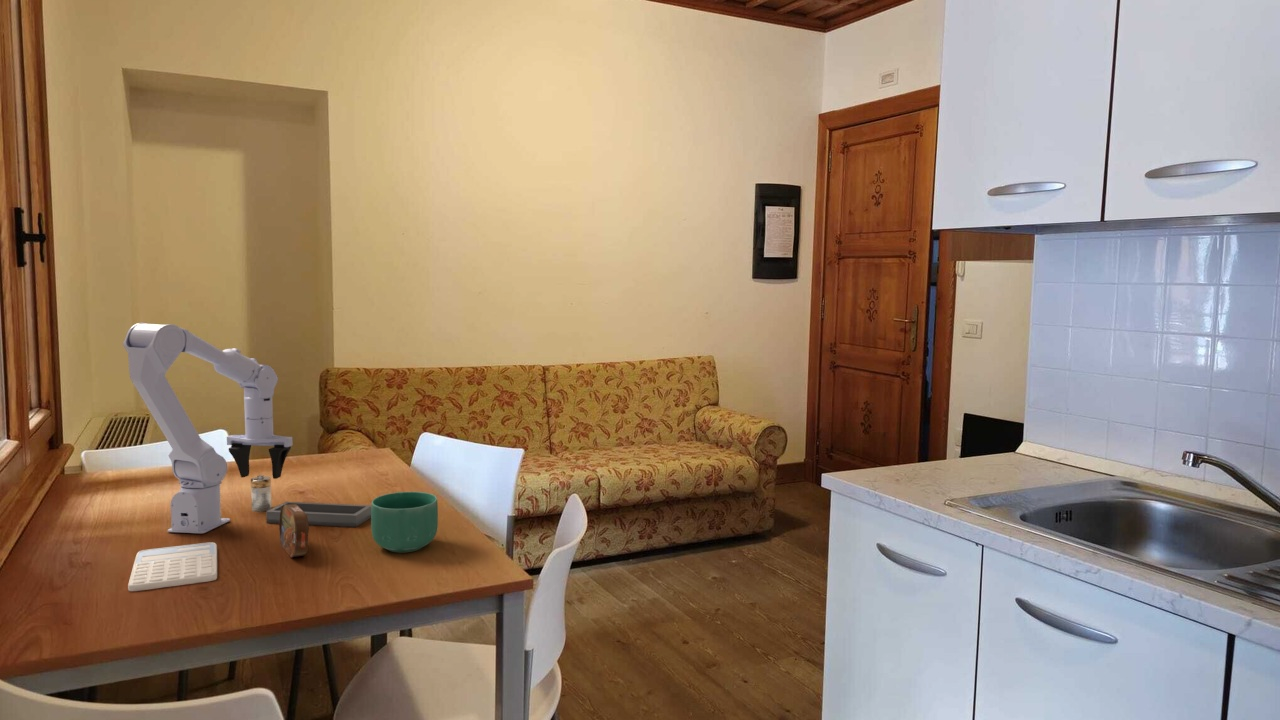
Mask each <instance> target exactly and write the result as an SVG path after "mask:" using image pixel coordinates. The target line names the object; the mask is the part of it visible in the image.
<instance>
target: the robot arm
mask: <svg viewBox="0 0 1280 720" xmlns="http://www.w3.org/2000/svg"><path fill="white" fill-rule="evenodd" d="M122 345H123V347H124V349H125V350H126V352H127V359H128V373H129V378H130V380H131V382H132V384H133V385H134V387H135V389H136V391H137V392H138V394H139V396H140V397H141V399H142V401H143V402H144V404H145V405H146V407H147V410H148V411H149V413H150V414H151V416H152V417H153V419H154V420H155V422H156V423H157V426H158V427H159V429H160V430H161V432H162V434H163V436H164V437H165V439H166V441H167V442H168V443H169V446H170V448H171V450H170V452H169V454H168V458H169V459H170V462H171V470H172V473H173V475H174V476H175V478H176V479H178V484H179V485H180V488H179V491H178V492H176V493H175V494H174V495H173V496H172V498H171V500H170V523H171V525H170V526H171V527H170V528H169V529H167V533H182V534H183V533H184V534H185V533H187V534H205V533H208V532H210V531H212V530H213V529H216V528H218V527H221V526H222V525H224V524H226V523H228V522H230V521H231V518H228V517H226V518H225V517H222V511H221V510H222V507H221V484H222V483H223V482H222V481H223V480H224V478H225V477H226V476H227V472H228V462H227V460H226V459H225V457H224V456H222V455H220V454H219V453H217V452H216V450H215V448H214V447H213V446H212V445H210V444H209V443H207V441H205V440H203V439H202V438H201V436H200V435H199V433H198V431H197V430H196V428H195V426H194V424H193V422H192V421H191V418H190V417H189V415H188V414H187V412H186V410H185V408H184V407H183V405H182V403H181V402H180V400H179V397H178V396H177V395H176V393H175V391H174V389H173V388H172V385H171V384H170V383H169V381H168V379H167V377H166V375H167V371H169V369H170V368H171V367H172V365H173V364H174V363H175V362H176V360H177V358H178V357H179V356H180V354H181V353H186V354H189V355H191V356H193V357H196V358H198V359H200V360H203V361H205V362H208V363H210V364H212V365H213V370H214V371H215V372H216V373H217V374H220V375H221V376H224V377H226V378H228V379H230V380H232V381H233V382H236V383H237V384H238V386H239V387H240V388H242V389H243V405H244V431H245V432H244V434H231V435H228V436H226V445H227V446H230V447H229V448H228V453H230V455H231V456H232V458H233V460H234V461H235V463H236V466H237V468H238V471H239V475H240V478H245V477H249V475H250V453H251V448H252V446H262V447H263V446H264V447H265V446H266V447H267V446H268V447H269V446H270V448H268V453H269V455H270V460H271V471H272V474H271V475H272V479H274V480H276V479H279V478H281V477H282V471H283V467H284V464H285V461H286V459H287V456H288V454H289V453H290V451H291V447H293V436H283V435H276V434H274V418H273V417H274V413H273V411H274V410H273V409H274V407H273V397H274V395H275V387H276V386H277V384H278V380H279V377H278V376H277V374H276V371H275V370H274V368H272V367H271V366H270V365H267V364H260V363H259V362H258V359H256V358H254V357H253V358H252V357H251V358H250V357H248V356H245V355H244V354H242V353H241V352H242V350H240V349H238V348H235V347H234V348H225V349H222V350H221V348H219V347H216V346H215V345H213V344H211V343H209V342H207V340H204V339H202V338H201V337H199V336H197V335H196V334H194V333H193V332H191V331H189V330H188V329H185V328H183V327H179V326H178V325H176V324H170V323H168V324H156V323H147V322H139V323H138V322H137V323H135V324H133V325H132V326H131V327H130V328H129V329H128V331H127V333H126V336H125V338H124V341H123V342H122Z"/></svg>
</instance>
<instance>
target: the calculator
mask: <svg viewBox="0 0 1280 720" xmlns="http://www.w3.org/2000/svg"><path fill="white" fill-rule="evenodd" d="M217 579H218V545H217V543H216V542H209V541H208V542H201V543H191V544H184V545H176V546H175V545H174V546H167V547H166V546H165V547H158V548H156V547H155V548H149V549H142V550H139V551H138V552H137V553H136V556H135V558H134V562H133V565H132V570H131V573H130V577H129V581H128V584H127V590H128V591H129V592H140V591H146V590H154V589H162V588H168V587H169V588H170V587H177V586H185V585H193V584H199V583H205V582H211V581H216V580H217Z"/></svg>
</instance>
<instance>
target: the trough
mask: <svg viewBox="0 0 1280 720" xmlns="http://www.w3.org/2000/svg"><path fill="white" fill-rule="evenodd" d="M293 504H296V505H298V506H299V507H300V508H301V509H302V510H303V511H304V512H305V513H306V515H307V518H308V523H309V526H321V527H323V526H324V527H325V526H326V527H342V528H343V527H345V528H346V527H347V528H357V527H359V526H361V525H362V524H363V523H366V521H368V520H369V519H370V520H371V504H370V505H367V504H347V503H346V504H343V503H326V502H324V503H322V502H321V503H320V502H303V501H301V502H300V501H284V502H282V503H281V504H278V505H277V506H274V507H273V508H272V507H271V509H270V510H266V512H265V514H266V517H265V518H266V519H265V520H266V524H279V520H280V511H281V507H282V505H293Z"/></svg>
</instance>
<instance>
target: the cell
mask: <svg viewBox="0 0 1280 720" xmlns="http://www.w3.org/2000/svg"><path fill="white" fill-rule="evenodd" d="M271 482H272V478H271V477H270V476H265V475H263V474H261V475H260V474H259V475H257V476H255V477H252V478H250V489H251V490H250V493H251V496H250V497H251V511H253V512H265V511H268V510H270V509H272V494H271V493H272V491H271V489H272V486H271V485H272V484H271Z"/></svg>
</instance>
